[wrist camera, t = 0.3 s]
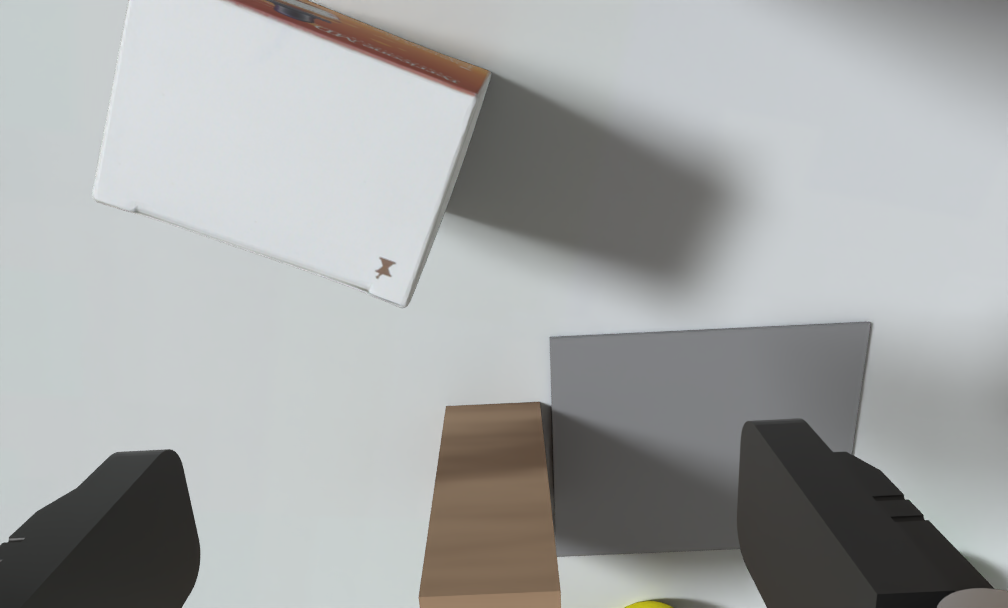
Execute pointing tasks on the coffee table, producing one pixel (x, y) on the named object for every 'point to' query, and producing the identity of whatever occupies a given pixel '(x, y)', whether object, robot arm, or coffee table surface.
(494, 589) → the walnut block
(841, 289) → the coffee table surface
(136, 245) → the coffee table surface
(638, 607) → the opera glasses
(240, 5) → the small box
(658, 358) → the mat
